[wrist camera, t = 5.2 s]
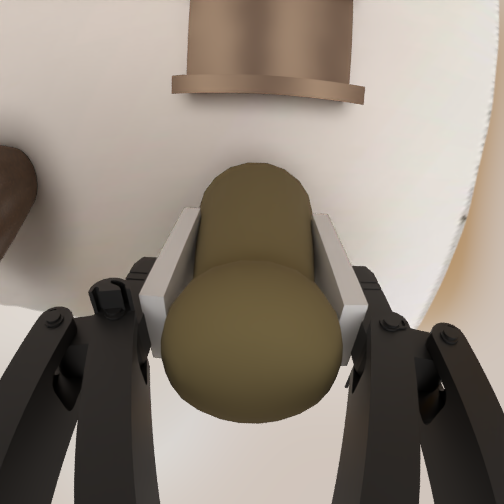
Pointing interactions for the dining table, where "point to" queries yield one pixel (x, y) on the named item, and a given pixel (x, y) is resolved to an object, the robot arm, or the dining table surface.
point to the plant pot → (14, 193)
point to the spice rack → (270, 49)
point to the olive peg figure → (253, 304)
